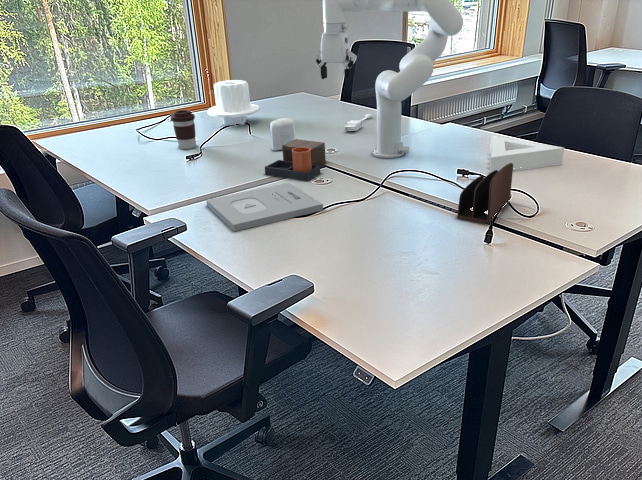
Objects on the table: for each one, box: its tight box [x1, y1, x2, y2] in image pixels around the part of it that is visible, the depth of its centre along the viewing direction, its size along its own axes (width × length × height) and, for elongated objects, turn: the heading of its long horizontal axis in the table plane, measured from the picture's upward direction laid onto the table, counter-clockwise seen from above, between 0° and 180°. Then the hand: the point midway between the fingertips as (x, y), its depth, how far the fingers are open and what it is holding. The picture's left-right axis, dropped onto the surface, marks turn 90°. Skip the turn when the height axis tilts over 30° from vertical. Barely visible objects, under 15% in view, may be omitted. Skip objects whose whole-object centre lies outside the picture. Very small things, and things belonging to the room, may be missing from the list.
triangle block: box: [489, 134, 565, 174], centre depth 216 cm, size 30×26×6 cm
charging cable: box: [343, 113, 372, 132], centre depth 276 cm, size 5×32×3 cm, turn 160°
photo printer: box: [269, 117, 296, 151], centre depth 243 cm, size 10×4×12 cm, turn 123°
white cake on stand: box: [207, 79, 261, 127], centre depth 282 cm, size 25×25×19 cm
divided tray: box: [264, 159, 321, 182], centre depth 216 cm, size 18×10×3 cm, turn 61°
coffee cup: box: [170, 109, 197, 150], centre depth 248 cm, size 10×10×15 cm
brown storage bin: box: [281, 138, 326, 167], centre depth 224 cm, size 13×10×8 cm
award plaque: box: [205, 182, 324, 232], centre depth 187 cm, size 25×30×2 cm
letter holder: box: [456, 163, 514, 225], centre depth 177 cm, size 10×20×14 cm, turn 148°
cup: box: [292, 147, 312, 173], centre depth 212 cm, size 7×7×9 cm
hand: (335, 79), depth 215 cm, fingers open, 9 cm apart
